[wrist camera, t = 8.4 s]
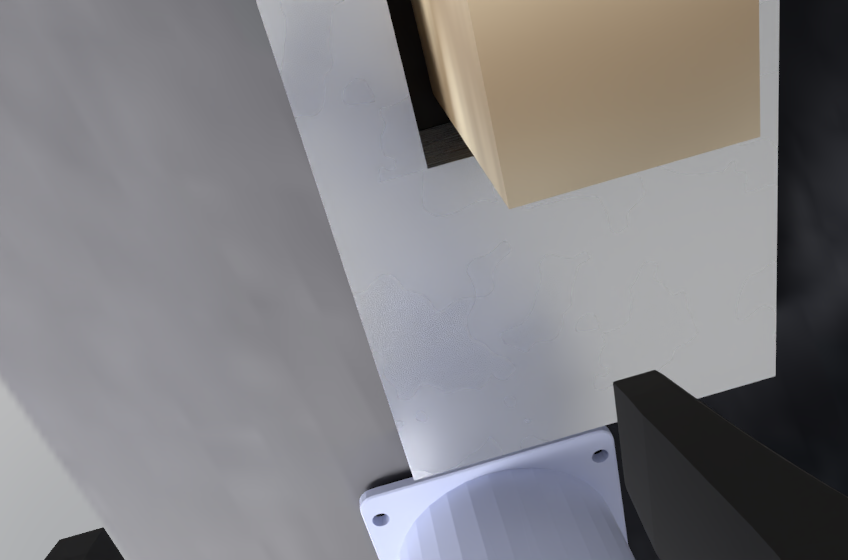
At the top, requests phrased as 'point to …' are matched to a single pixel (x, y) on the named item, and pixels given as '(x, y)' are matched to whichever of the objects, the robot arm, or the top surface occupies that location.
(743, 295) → the board with rectangular recess
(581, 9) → the peg
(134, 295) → the top surface
